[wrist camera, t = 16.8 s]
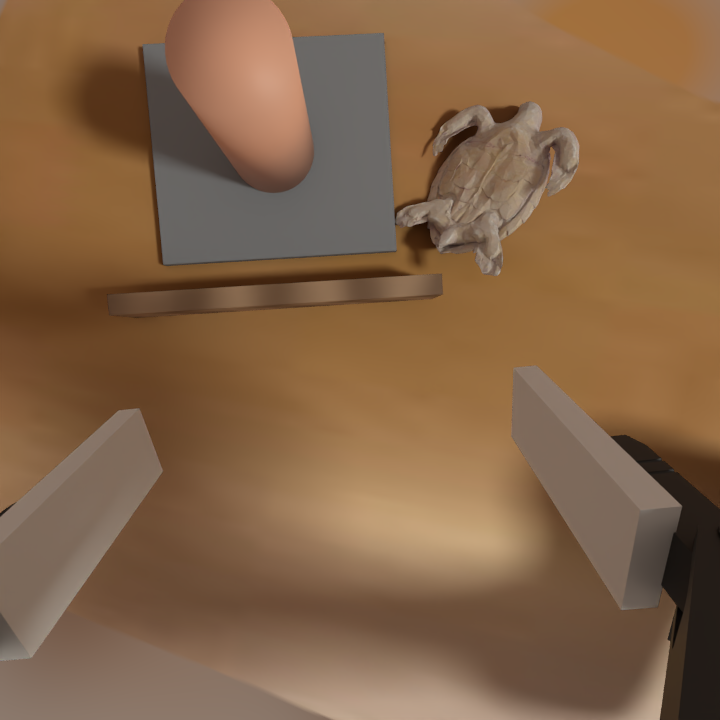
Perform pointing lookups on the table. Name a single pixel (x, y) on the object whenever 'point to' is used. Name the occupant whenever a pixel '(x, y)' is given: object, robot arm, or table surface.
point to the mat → (306, 200)
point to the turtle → (491, 181)
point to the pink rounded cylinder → (244, 87)
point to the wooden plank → (275, 296)
